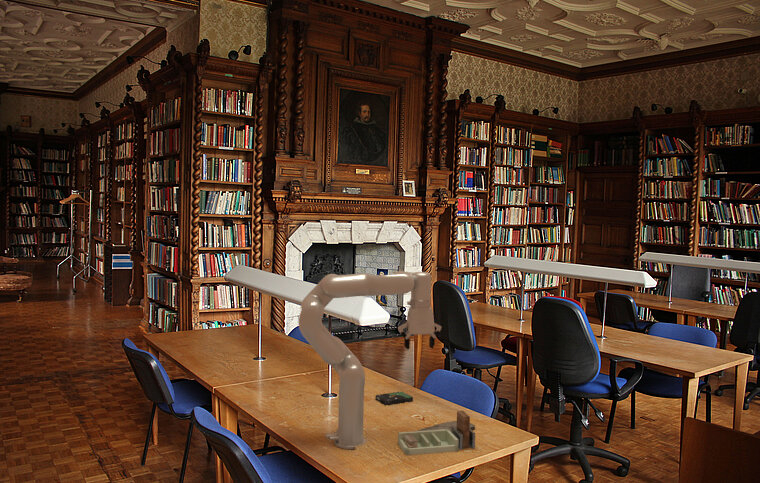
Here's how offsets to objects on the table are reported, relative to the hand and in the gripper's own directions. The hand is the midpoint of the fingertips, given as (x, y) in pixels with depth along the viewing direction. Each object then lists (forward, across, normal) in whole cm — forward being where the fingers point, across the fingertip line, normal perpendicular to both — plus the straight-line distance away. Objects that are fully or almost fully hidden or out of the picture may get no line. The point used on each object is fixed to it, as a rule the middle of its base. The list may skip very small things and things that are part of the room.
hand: (419, 348), depth 231 cm
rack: (+36, +1, -10) cm, 38 cm away
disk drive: (+37, +4, +49) cm, 61 cm away
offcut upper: (+33, -6, -10) cm, 35 cm away
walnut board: (+35, +15, -10) cm, 40 cm away
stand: (+36, +15, -10) cm, 41 cm away
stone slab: (+37, +12, +6) cm, 40 cm away
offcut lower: (+35, -6, -10) cm, 37 cm away
